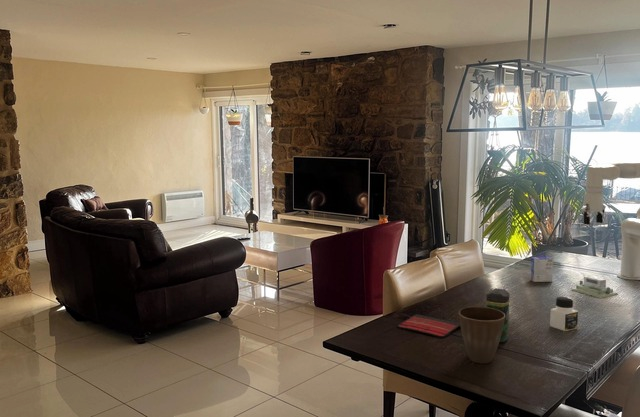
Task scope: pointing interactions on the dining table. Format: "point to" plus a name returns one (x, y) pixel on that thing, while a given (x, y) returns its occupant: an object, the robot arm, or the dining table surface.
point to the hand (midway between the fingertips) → (593, 223)
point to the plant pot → (481, 332)
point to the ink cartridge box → (541, 268)
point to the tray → (594, 291)
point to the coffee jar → (500, 307)
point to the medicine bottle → (564, 314)
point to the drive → (594, 283)
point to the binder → (429, 326)
